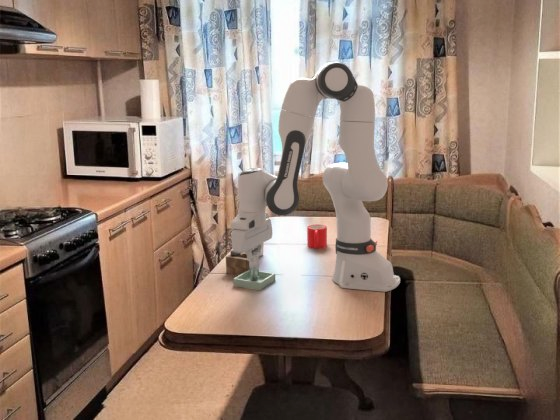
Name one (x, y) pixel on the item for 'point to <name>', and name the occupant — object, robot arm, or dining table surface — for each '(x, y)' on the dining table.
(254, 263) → the pin
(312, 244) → the mug
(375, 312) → the dining table surface
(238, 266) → the tensioner block
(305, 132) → the robot arm
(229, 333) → the dining table surface
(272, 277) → the tray
